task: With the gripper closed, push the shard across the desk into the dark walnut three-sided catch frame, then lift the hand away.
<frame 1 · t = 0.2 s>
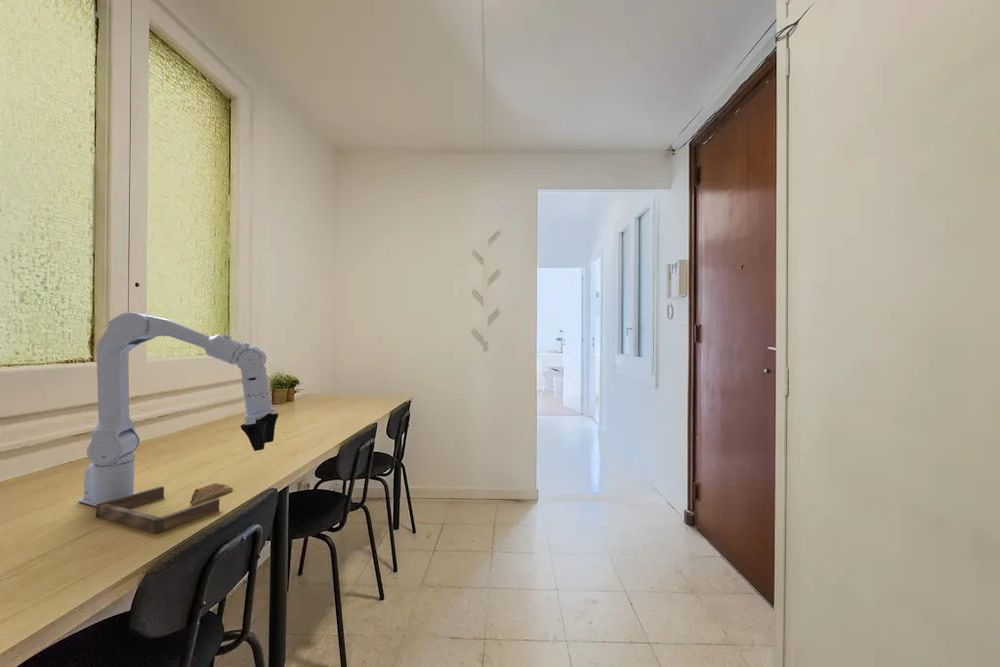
hand: (264, 445, 108), 10 cm above the table, tool pointing down, fingers open, 7 cm apart
shard: (212, 498, 101), on the table
catch frame: (162, 512, 91), on the table
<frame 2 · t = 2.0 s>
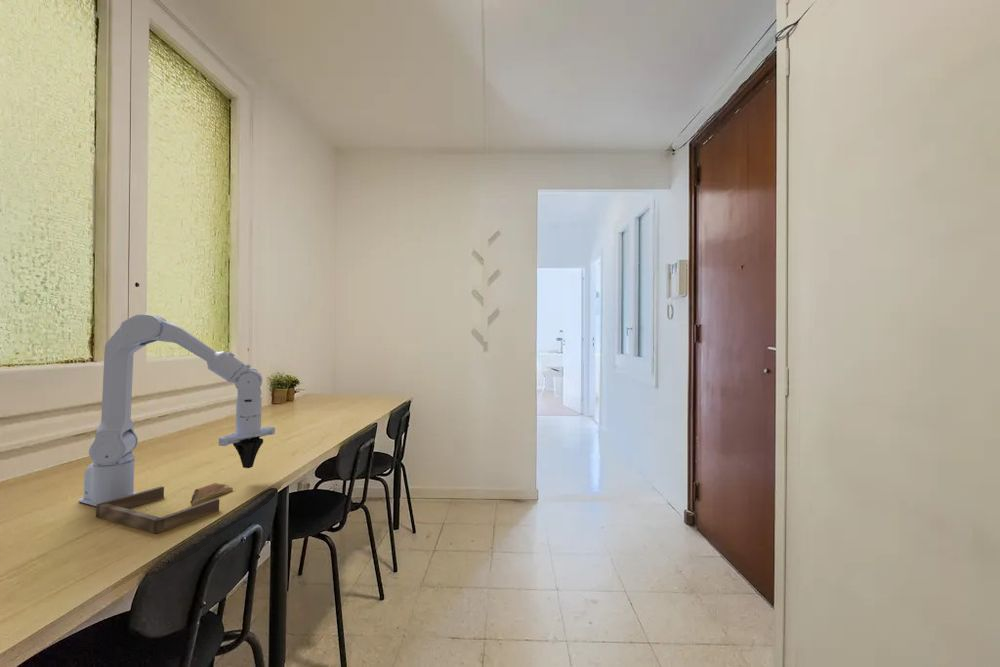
hand: (247, 467, 110), 4 cm above the table, tool pointing down, fingers closed
nothing on the table moved.
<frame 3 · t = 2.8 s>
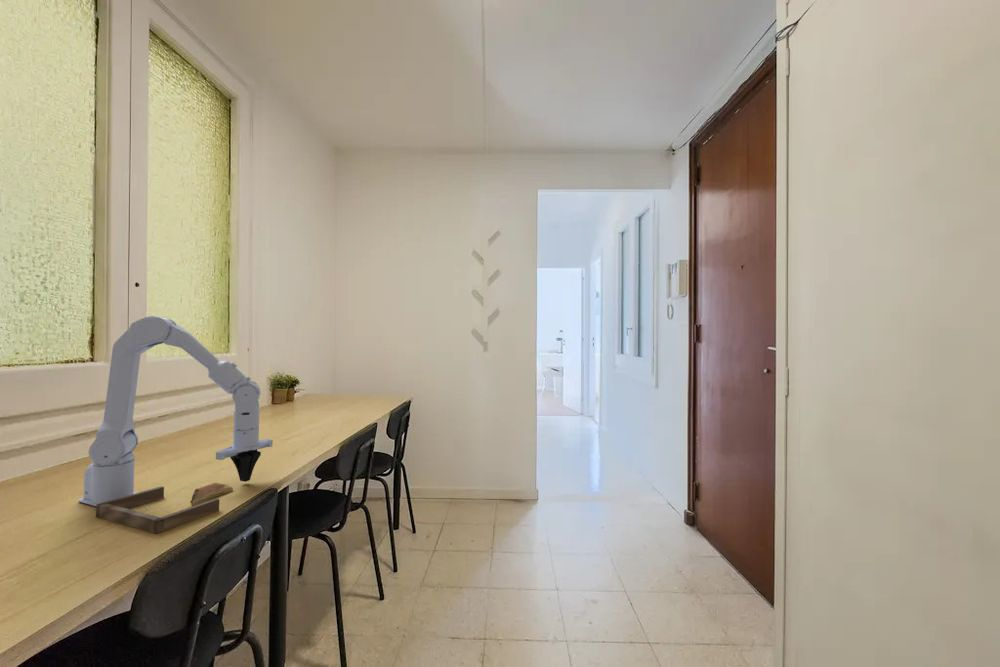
hand: (245, 480, 109), 1 cm above the table, tool pointing down, fingers closed
nothing on the table moved.
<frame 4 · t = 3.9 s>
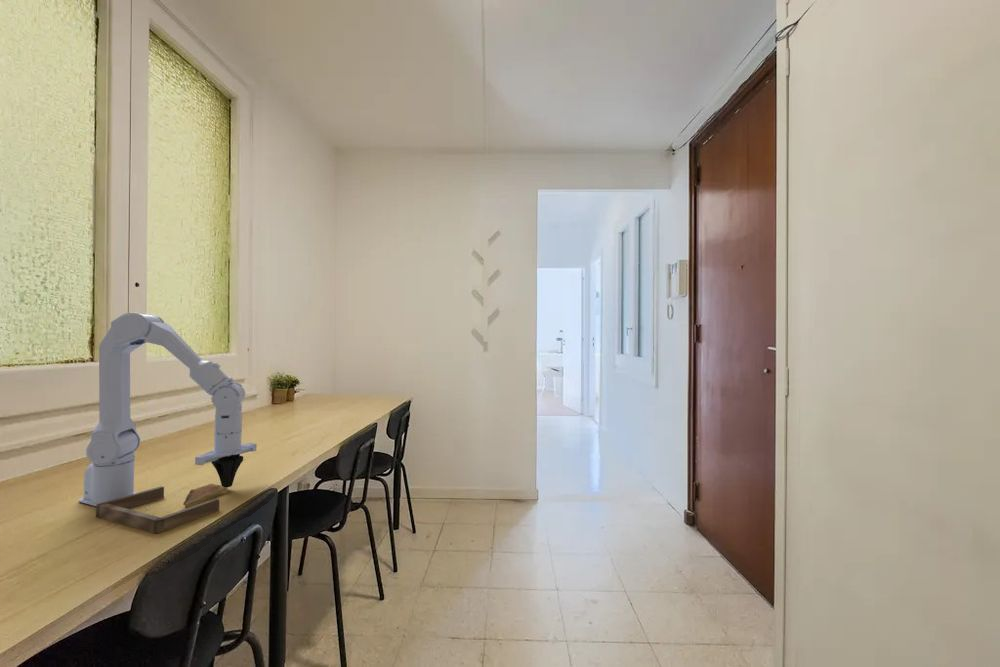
hand: (226, 486, 104), 1 cm above the table, tool pointing down, fingers closed
shard: (207, 499, 100), on the table, touching gripper
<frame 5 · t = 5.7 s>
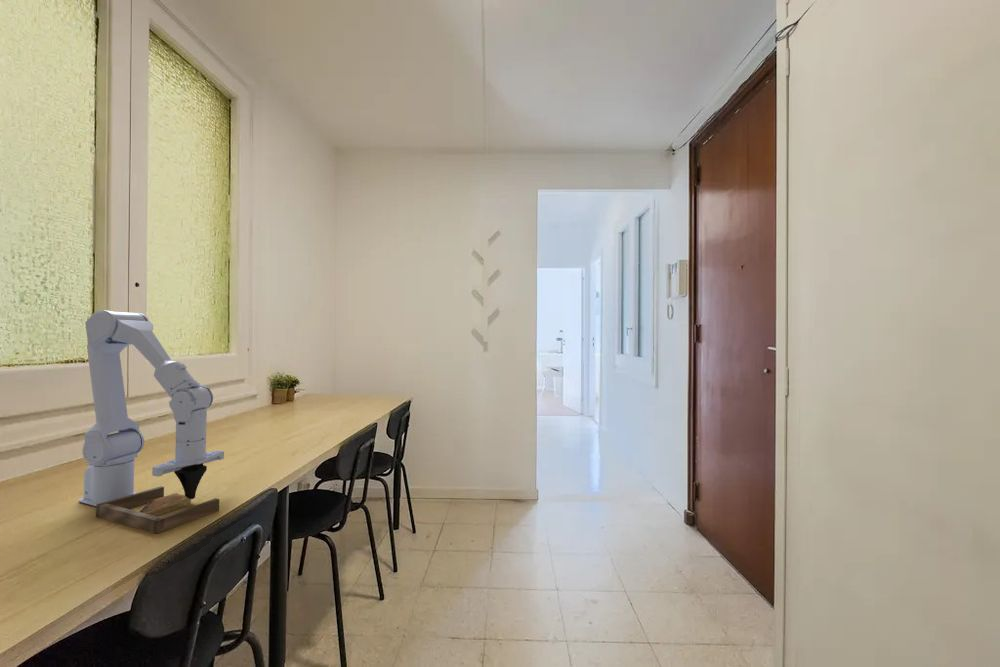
hand: (189, 498, 96), 1 cm above the table, tool pointing down, fingers closed, pressing on shard
shard: (166, 510, 92), on the table, touching catch frame, gripper
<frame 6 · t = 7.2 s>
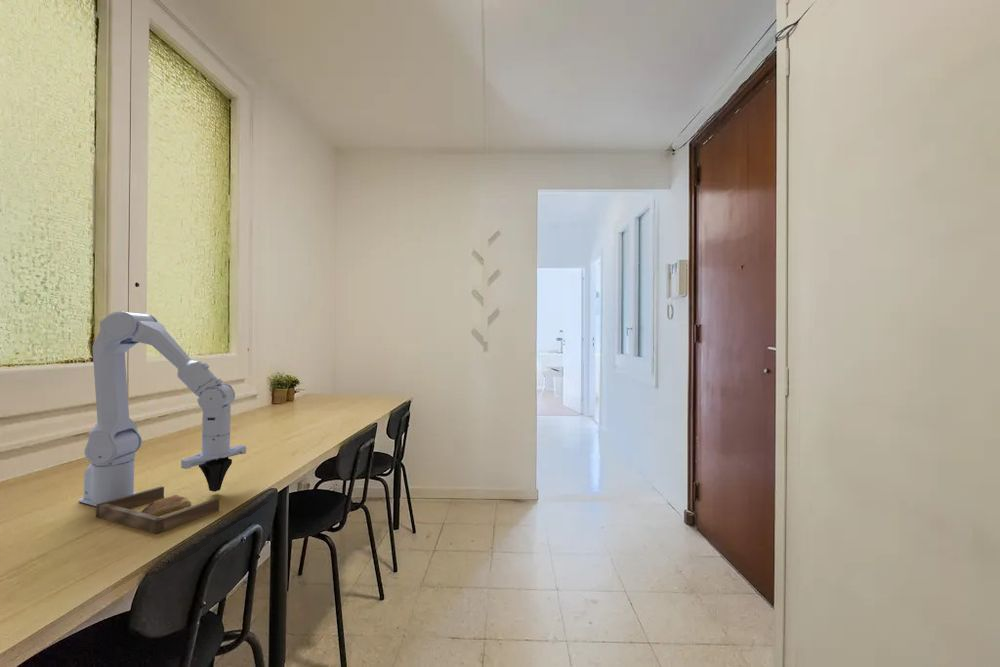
hand: (214, 490, 102), 1 cm above the table, tool pointing down, fingers closed
shard: (166, 512, 92), on the table
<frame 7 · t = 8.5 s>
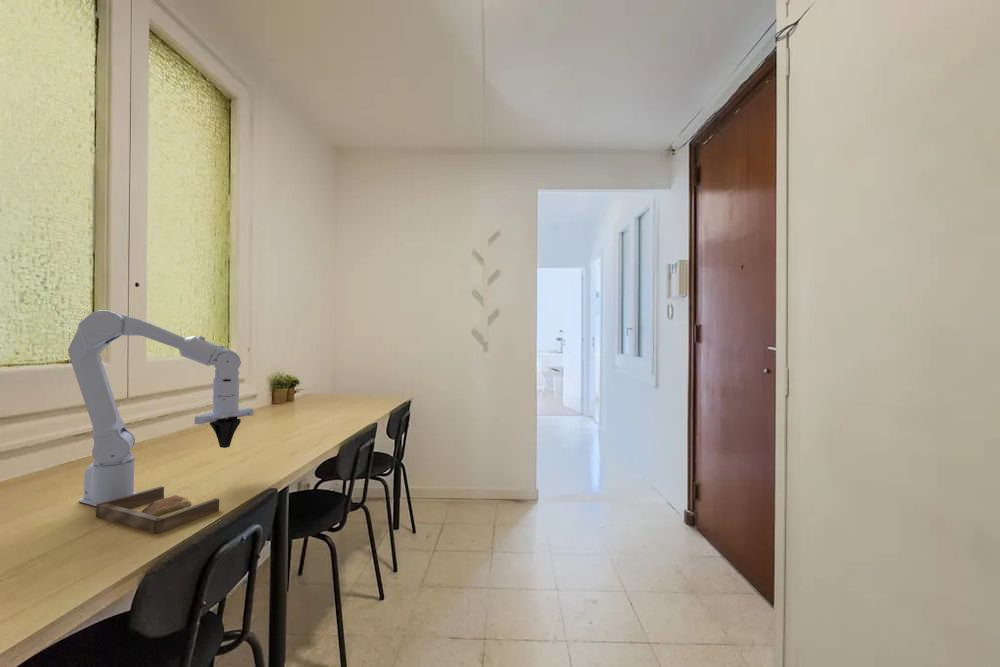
hand: (224, 447, 110), 9 cm above the table, tool pointing down, fingers closed
nothing on the table moved.
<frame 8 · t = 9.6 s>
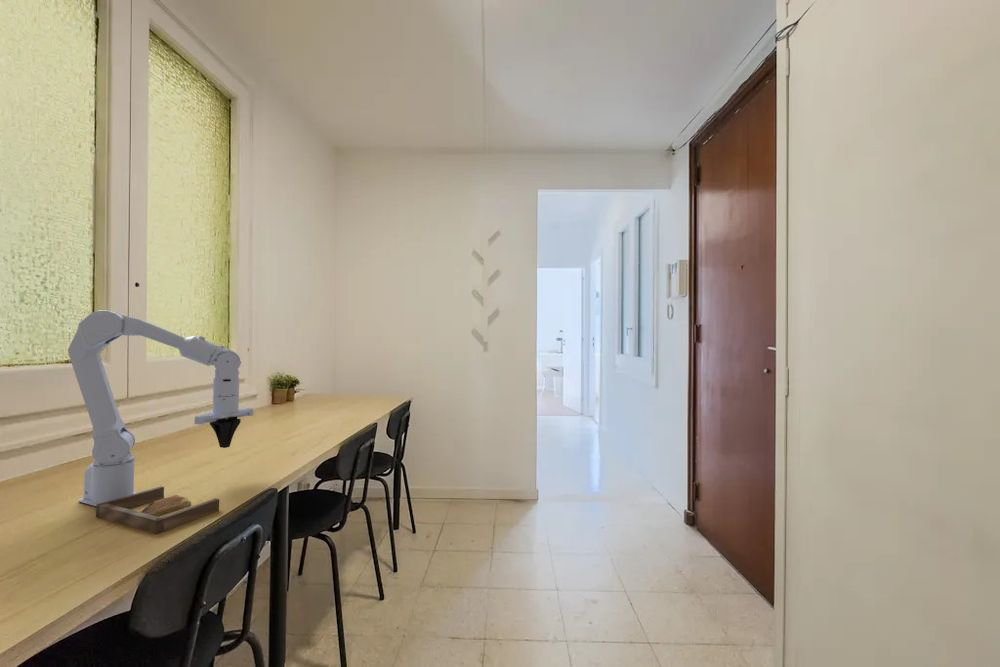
hand: (224, 447, 110), 9 cm above the table, tool pointing down, fingers closed
nothing on the table moved.
at the end: shard inside the target area (1.8 cm from its centre), on the table; shard tilted 0°; shard moved 9.7 cm from its start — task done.
